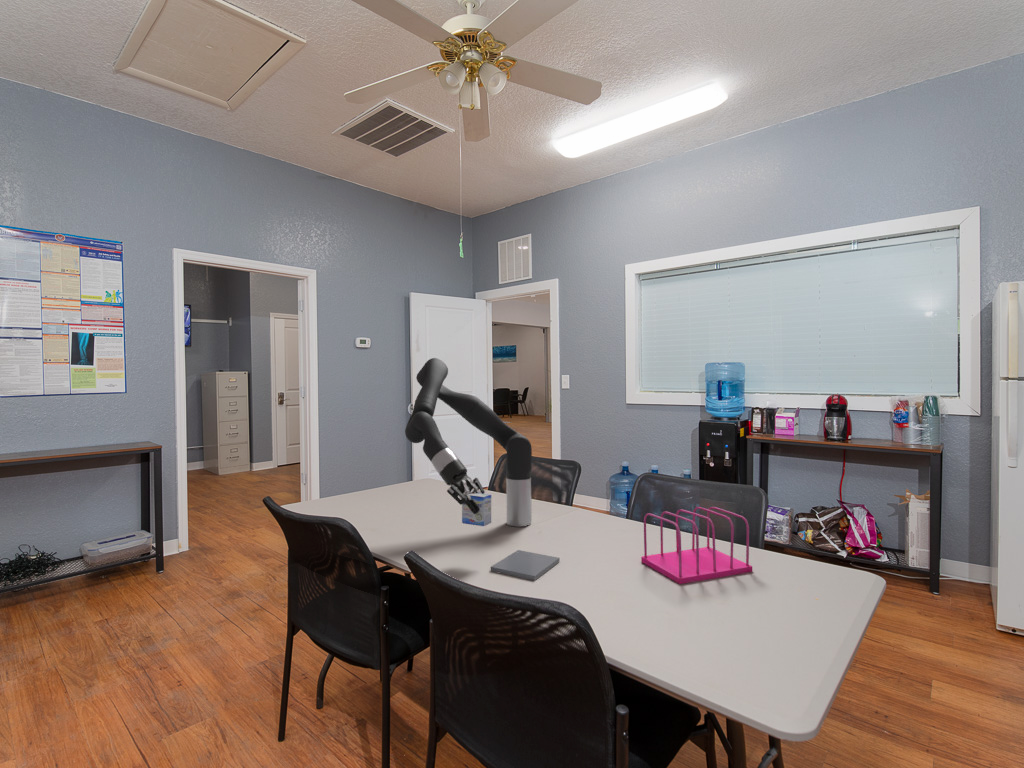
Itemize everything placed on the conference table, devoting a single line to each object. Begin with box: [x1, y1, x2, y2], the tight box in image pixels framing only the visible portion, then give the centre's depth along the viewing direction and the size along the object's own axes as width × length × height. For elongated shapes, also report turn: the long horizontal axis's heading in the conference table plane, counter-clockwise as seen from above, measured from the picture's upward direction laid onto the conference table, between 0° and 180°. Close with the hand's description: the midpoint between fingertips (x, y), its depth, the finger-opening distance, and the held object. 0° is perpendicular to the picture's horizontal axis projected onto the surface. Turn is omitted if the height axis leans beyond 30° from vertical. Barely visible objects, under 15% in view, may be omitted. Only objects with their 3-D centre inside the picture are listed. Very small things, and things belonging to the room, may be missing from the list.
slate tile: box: [490, 549, 560, 582], centre depth 145 cm, size 16×14×1 cm
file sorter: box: [640, 506, 753, 585], centre depth 144 cm, size 17×25×16 cm
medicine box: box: [461, 491, 492, 527], centre depth 150 cm, size 8×4×9 cm, turn 62°
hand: (482, 509), depth 149 cm, fingers closed on medicine box, 4 cm apart
